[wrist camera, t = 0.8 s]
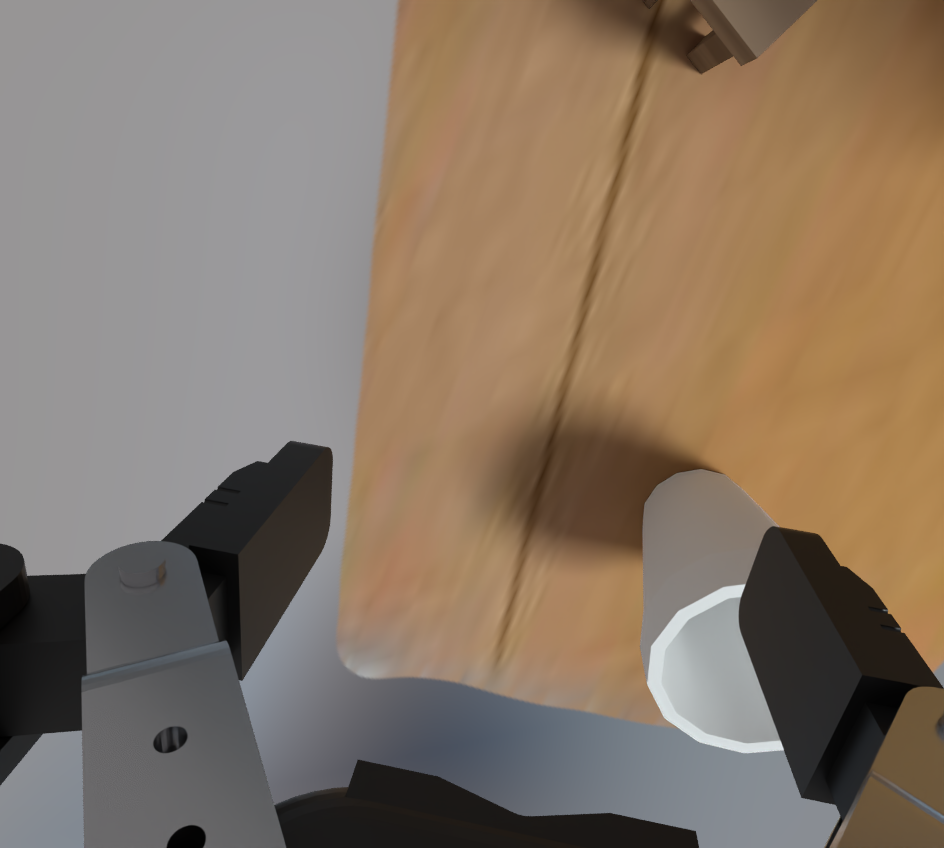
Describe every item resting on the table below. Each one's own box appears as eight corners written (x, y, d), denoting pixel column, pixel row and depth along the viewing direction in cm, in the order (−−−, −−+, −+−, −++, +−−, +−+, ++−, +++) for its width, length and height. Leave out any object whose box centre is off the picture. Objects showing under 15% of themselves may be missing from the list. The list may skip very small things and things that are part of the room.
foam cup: (594, 479, 39) (614, 621, 27) (745, 421, 36) (842, 549, 24) (651, 597, 42) (692, 773, 30) (795, 551, 39) (904, 722, 27)
